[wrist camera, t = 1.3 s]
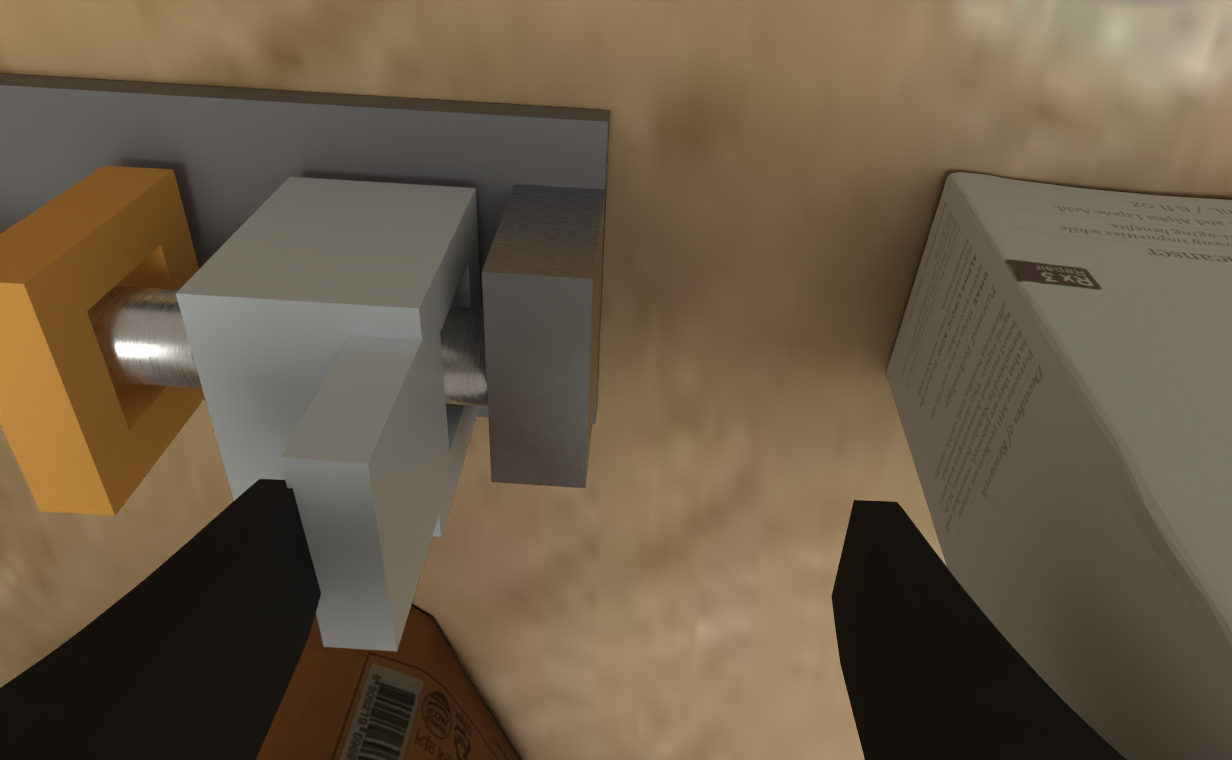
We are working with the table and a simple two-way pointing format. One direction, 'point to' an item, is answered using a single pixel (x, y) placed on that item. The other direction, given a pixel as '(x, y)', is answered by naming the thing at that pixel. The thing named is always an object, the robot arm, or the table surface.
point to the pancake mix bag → (384, 704)
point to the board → (283, 147)
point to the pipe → (460, 336)
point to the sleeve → (343, 378)
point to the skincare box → (1084, 443)
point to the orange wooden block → (88, 338)
